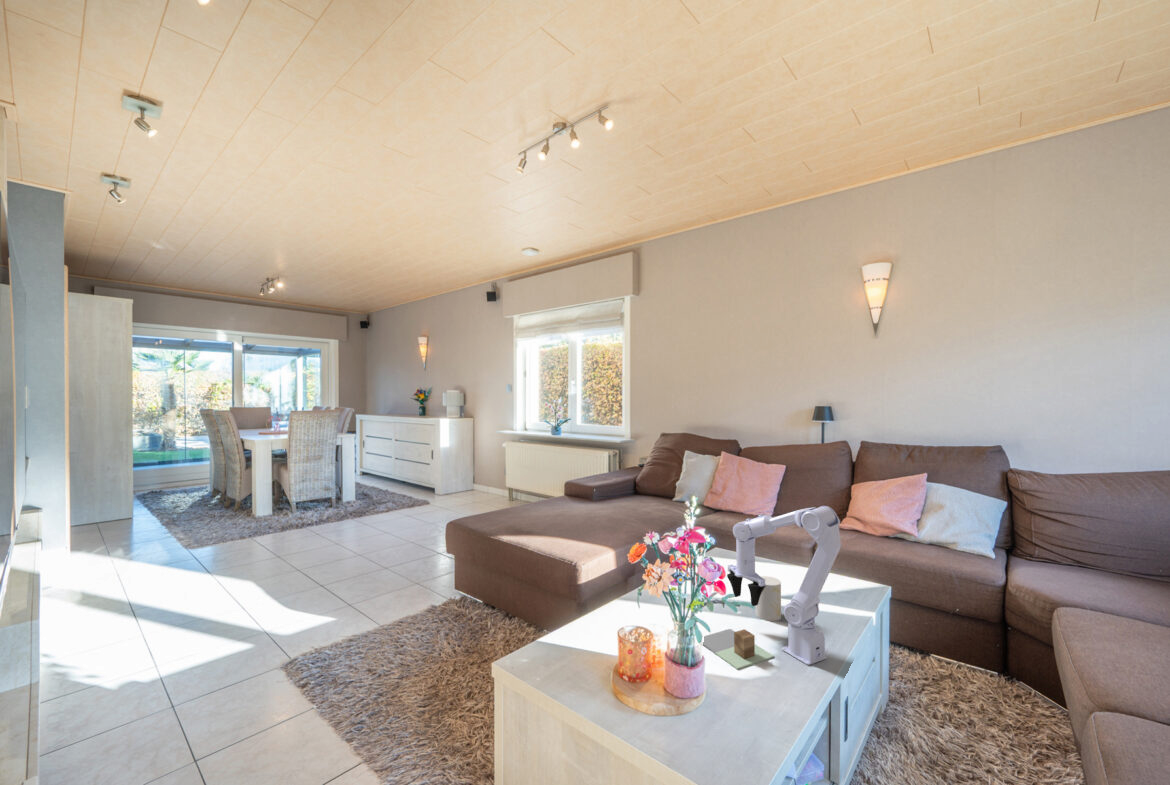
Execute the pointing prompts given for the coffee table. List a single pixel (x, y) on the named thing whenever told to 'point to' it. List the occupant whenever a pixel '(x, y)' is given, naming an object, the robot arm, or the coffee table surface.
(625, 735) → the coffee table surface
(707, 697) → the coffee table surface
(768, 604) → the beige cylinder
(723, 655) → the board
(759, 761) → the coffee table surface
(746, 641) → the block
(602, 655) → the coffee table surface
